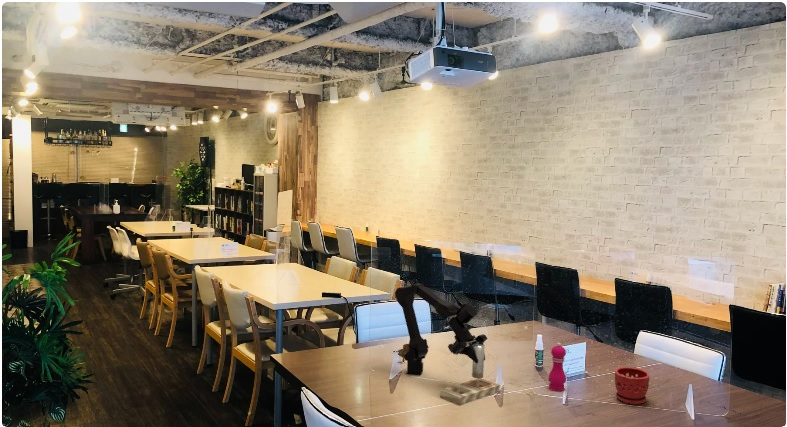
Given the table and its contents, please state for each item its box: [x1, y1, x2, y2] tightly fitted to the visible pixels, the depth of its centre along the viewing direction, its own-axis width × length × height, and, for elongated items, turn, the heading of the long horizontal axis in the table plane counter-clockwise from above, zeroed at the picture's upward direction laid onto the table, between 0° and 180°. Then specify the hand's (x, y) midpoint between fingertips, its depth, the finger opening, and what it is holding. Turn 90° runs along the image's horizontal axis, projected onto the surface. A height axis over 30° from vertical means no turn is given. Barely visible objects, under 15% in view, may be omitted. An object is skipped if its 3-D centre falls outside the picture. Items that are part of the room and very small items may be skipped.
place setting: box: [397, 343, 409, 363], centre depth 309 cm, size 18×20×6 cm
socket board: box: [439, 378, 501, 406], centre depth 258 cm, size 24×11×3 cm, turn 131°
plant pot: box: [614, 366, 650, 405], centre depth 256 cm, size 13×13×12 cm
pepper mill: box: [548, 342, 567, 392], centre depth 267 cm, size 7×7×20 cm
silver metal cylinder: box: [471, 344, 485, 379], centre depth 260 cm, size 5×5×13 cm
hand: (481, 361), depth 259 cm, fingers closed on silver metal cylinder, 5 cm apart
